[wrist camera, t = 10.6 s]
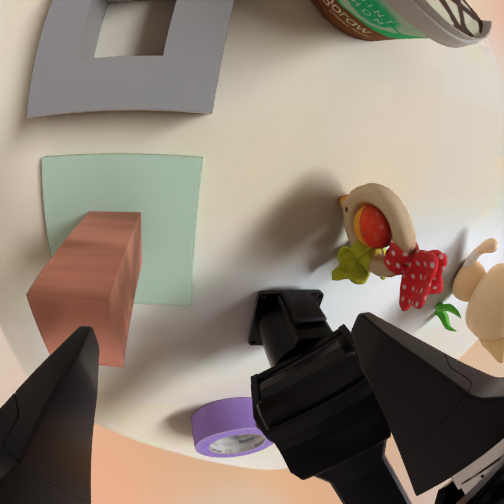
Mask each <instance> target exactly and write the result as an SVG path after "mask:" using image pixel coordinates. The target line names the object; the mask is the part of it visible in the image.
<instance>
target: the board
mask: <svg viewBox="0 0 504 504" xmlns="http://www.w3.org/2000/svg"><path fill="white" fill-rule="evenodd" d="M202 161H203V157H197V156H182V155H163V154H75V155H57V156H45V157H42V188H43V202H44V213H45V221H46V229H47V236H48V243H49V249H50V254H51V258H52V256H53V255H54V254H55V252H56V251H57V250H58V248H59V247H60V246H61V245H62V243H63V242H64V241H65V239H66V238H67V237H68V236H69V234H70V233H71V232H72V231H73V230H74V228H75V227H76V226H77V225H78V224H79V222H80V221H81V220H82V219H83V218H84V217H85V216H86V214H87V213H88V212H89V211H107V212H141V242H142V265H141V270H140V274H139V279H138V283H137V288H136V293H135V298H134V303H138V304H164V305H191V293H192V273H193V257H194V243H195V230H196V218H197V207H198V197H199V188H200V178H201V170H202Z"/></svg>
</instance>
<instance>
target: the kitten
mask: <svg viewBox="0 0 504 504" xmlns="http://www.w3.org/2000/svg"><path fill="white" fill-rule="evenodd" d="M497 247H498V244H497V241H496V240H495V239H493V238H490V239H487V240H485V241H484V242H482V243H481V244H480V245H479V246H478V247H477V248H475V249H474V250H473V251H472V252H471V253H470V254H469V256H468V257H467V259H466V260H465V262H464V264H463V266H462V267H461V269H460V270H459V272H458V273H457V275H456V277H455V280H454V283H453V287H452V292H453V295H454V296H455V297H456V298H457V299H459V300H461V301H465V302H469V303H468V306H467V310H466V324H467V326H468V328H469V329H470V330H471V332H472V333H473V334H475V335H476V336H477V337H478V338H479V340H480V342H481V344H482V345H483V346H484V347H485V348H486V349H487V350H488V351H489V352H490V353H491V354H492V355H493V357H494V358H495V359H496V360H497V361H498V362H500V363H503V362H504V263H500V264H497V265H495V266H493V267H492V268H491V269H490V270H489V271H488V272H487V273H486V272H485V270H484V268H483V266H482V265H481V264H480V263H479V262H478V261H477V259H478V257H479V256H480V255H481V254H483V253H493V252H495V251H496V250H497ZM446 311H449V312H452V313H454V314H455V315H457V316H459V317H460V318H461V316H460V314H459V312H458V310H457V309H456V308H455V307H454V306H453V305H451V304H443V303H442V302H441V303H440V304H439V305H436V312H435V314H436V315H437V316H438V317H439V318H440V320H441V322H442V324H443V326H444V327H445V328H446V329H448V330H450V331H456V330H454V329H453V328H452V327H451V326H450V323H449V317H448V314H447V313H446Z"/></svg>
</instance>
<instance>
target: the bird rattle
mask: <svg viewBox="0 0 504 504" xmlns="http://www.w3.org/2000/svg"><path fill="white" fill-rule="evenodd" d="M340 205H341V207H342V210H343V217H344V225H345V230H346V233H347V237H348V240H349V242H350V245H351V247H348V246H343V247H341V248H340V249H339V251H338V253H337V256H338V260H339V262H340V265H339V266H338V267H337V268H336V269H334V270H333V271H332V280H343V279H349V280H350V281H351V282H353V283H355V284H364V283H366V281H367V279H368V277H369V274H370V272H372V273H373V274H375V275H378V276H380V278H381V279H382V280H384V279H385V277H393V276H396V275H402V278H401V285H400V299H399V304H400V307H401V310H402V311H406V310H408V309H409V308H410V307H411V306H412V305H413V306H414V307H415V308H418V309H420V308H422V307H423V306H424V304H425V301H426V298H427V295H428V294H438V293H441V292H442V291H443V280H442V272H443V270H444V268H445V267H446V265H447V256H446V254H444V253H442V252H440V251H439V250H431V251H425V250H419V247H418V244H417V243H416V237H415V230H414V226H413V223H412V219H411V217H410V215H409V213H408V211H407V209H406V207H405V205H404V204H403V202H402V201H401V200H400V198H399V197H398V196H397V195H396V194H395V193H394V192H393V191H391V190H390V189H389V188H387V187H385V186H383V185H380V184H376V183H369V184H366V185H362V186H359V187H357V188H355V189H354V190H352V191H351V192H350V194H349V195H346V196H343V197H342V198H341V199H340ZM389 245H390V247H389V248H388V250H387V251H386V249H385V247H387V246H389Z"/></svg>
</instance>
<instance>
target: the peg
mask: <svg viewBox="0 0 504 504" xmlns="http://www.w3.org/2000/svg"><path fill="white" fill-rule="evenodd" d="M141 265H142V242H141V212H107V211H89V212H88V213H87V214H86V216H85V217H84V218H83V219H82V220H81V221H80V222H79V224H78V225H77V226H76V227H75V228H74V230H73V231H72V232H71V233H70V234H69V236H68V237H67V238H66V239H65V241H64V242H63V243H62V245H61V246H60V247H59V248H58V250H57V251H56V252H55V254H54V255H53V256H52V258H51V259H50V260H49V262H48V263H47V264H46V266H45V267H44V269H43V270H42V271H41V273H40V274H39V276H38V277H37V279H36V280H35V282H34V283H33V285H32V286H31V288H30V289H29V291H28V292H27V294H26V296H27V299H28V302H29V305H30V308H31V310H32V313H33V316H34V318H35V321H36V324H37V326H38V329H39V331H40V334H41V336H42V338H43V341H44V343H45V345H46V347H47V350H48V352H49V354H50V355H51V354H52V353H53V352H54V351H55V350H56V349H57V348H58V347H59V346H60V345H61V344H62V343H63V342H64V341H65V340H66V339H67V338H68V337H69V336H70V335H71V334H72V333H73V332H74V331H75V330H76V329H77V328H78V327H80V326H91V327H92V328H93V329H94V332H95V335H96V338H97V341H98V344H99V350H100V352H99V365H103V366H115V367H123V365H124V358H125V350H126V343H127V337H128V331H129V325H130V319H131V313H132V308H133V303H134V298H135V293H136V288H137V283H138V279H139V274H140V270H141Z"/></svg>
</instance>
